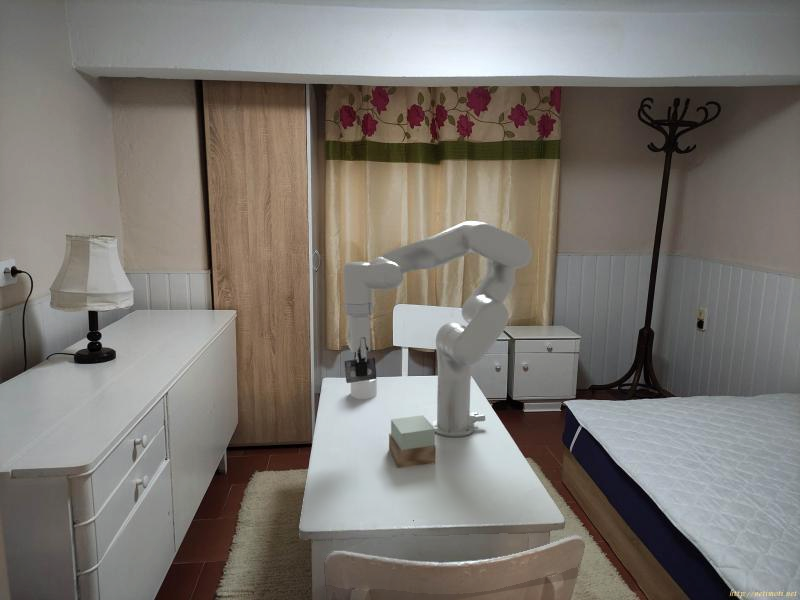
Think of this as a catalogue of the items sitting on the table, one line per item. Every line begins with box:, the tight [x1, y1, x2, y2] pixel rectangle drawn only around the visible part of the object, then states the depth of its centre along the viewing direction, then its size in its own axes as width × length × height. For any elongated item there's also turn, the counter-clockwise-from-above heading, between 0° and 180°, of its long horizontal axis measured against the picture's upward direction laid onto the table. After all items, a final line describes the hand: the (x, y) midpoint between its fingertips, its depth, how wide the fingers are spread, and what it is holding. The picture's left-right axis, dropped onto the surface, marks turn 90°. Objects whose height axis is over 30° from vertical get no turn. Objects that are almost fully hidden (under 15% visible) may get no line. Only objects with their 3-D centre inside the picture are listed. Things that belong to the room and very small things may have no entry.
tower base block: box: [388, 433, 437, 469], centre depth 142 cm, size 10×10×5 cm
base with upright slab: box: [350, 377, 378, 400], centre depth 185 cm, size 9×9×12 cm
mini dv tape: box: [343, 356, 378, 384], centre depth 147 cm, size 8×2×6 cm, turn 103°
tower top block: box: [390, 414, 436, 450], centre depth 141 cm, size 9×9×4 cm
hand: (360, 373), depth 148 cm, fingers closed on mini dv tape, 1 cm apart
